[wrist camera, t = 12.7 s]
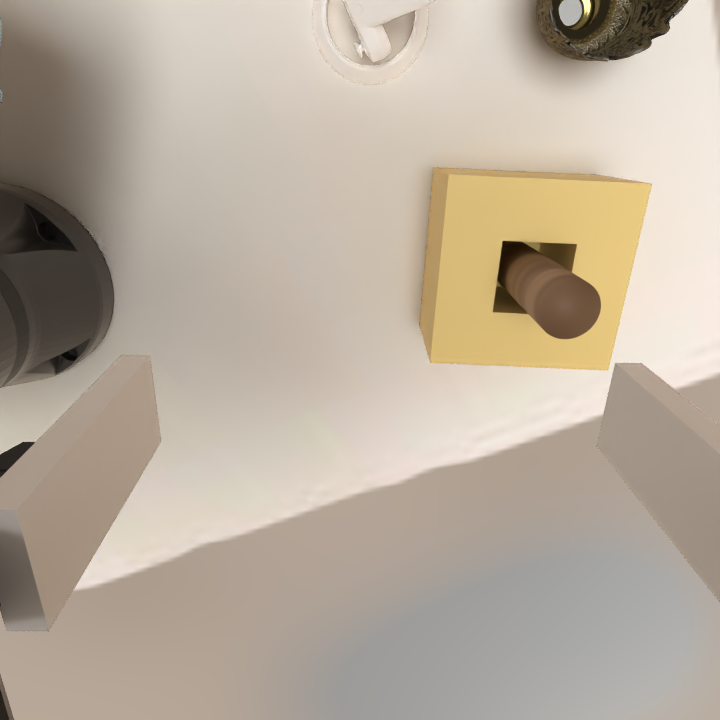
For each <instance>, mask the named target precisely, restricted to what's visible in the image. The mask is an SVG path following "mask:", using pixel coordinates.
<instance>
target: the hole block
mask: <svg viewBox="0 0 720 720" xmlns="http://www.w3.org/2000/svg"><path fill="white" fill-rule="evenodd" d="M651 186H652V184H650V183H644V182H638V181H632V180H626V179H619V178H613V177H607V176H601V175H585V174H563V173H541V172H519V171H498V170H476V169H454V168H433V179H432V190H431V201H430V212H429V224H428V235H427V246H426V258H425V269H424V280H423V291H422V303H421V314H420V328H421V332H422V335H423V339H424V342H425V346H426V350H427V353H428V357H429V360H430V363H450V364H472V365H495V366H518V367H540V368H563V369H586V370H608V369H609V365H610V360H611V356H612V352H613V348H614V343H615V339H616V335H617V331H618V326H619V322H620V318H621V314H622V309H623V305H624V301H625V297H626V292H627V288H628V284H629V280H630V275H631V271H632V267H633V263H634V258H635V254H636V250H637V246H638V241H639V237H640V233H641V229H642V224H643V220H644V216H645V212H646V207H647V203H648V199H649V195H650V190H651ZM503 241H521V242H524V243H526V244H527V245H529V246H530V247H532V248H534V249H535V250H537V251H538V252H540V253H542V254H543V255H545V256H546V257H548V258H550V259H551V260H553V261H554V262H556V263H558V264H559V265H561V266H562V267H564V268H566V269H567V270H569V271H570V272H572V273H574V274H575V275H577V276H578V277H580V278H582V279H583V280H585V281H586V282H588V283H590V284H591V285H592V286H593V287H594V288H595V289H596V290H597V292H598V294H599V296H600V300H601V311H600V314H599V317H598V319H597V321H596V323H595V324H594V325H593V327H592V328H591V329H590V330H588V331H587V332H586V333H584V334H583V335H581V336H579V337H576V338H572V339H558V338H555V337H552V336H550V335H549V334H547V333H546V332H545V331H544V330H543V329H542V328H541V327H540V326H539V325H538V324H537V323H536V322H535V320H534V319H533V318H532V317H531V316H530V315H529V314H528V313H527V312H526V311H525V310H524V309H523V308H522V307H521V306H520V305H519V304H518V303H517V301H516V300H515V299H514V298H513V297H512V296H511V295H510V294H509V293H508V292H507V291H506V290H505V289H504V288H503V287H502V286H501V285H500V283H499V282H498V281H497V277H498V270H499V263H500V256H501V249H502V242H503Z"/></svg>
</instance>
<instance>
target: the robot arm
mask: <svg viewBox="0 0 720 720" xmlns="http://www.w3.org/2000/svg"><path fill="white" fill-rule="evenodd" d="M0 46H1V19H0ZM2 98H3V94H2V90H1V89H0V102H1V103H2ZM112 310H113V288H112V282H111V278H110V274H109V270H108V267H107V265H106V262H105V260H104V258H103V256H102V253H101V252H100V250H99V248H98V246H97V245H96V243H95V242H94V240H93V239H92V237H91V236H90V235H89V233H88V232H87V231H86V230H85V228H84V227H83V226H82V225H81V224H80V223H79V222H78V221H77V220H76V219H75V218H74V217H73V216H72V215H71V214H70V213H68V212H67V211H66V210H65V209H63V208H62V207H61V206H59V205H58V204H56V203H55V202H53V201H52V200H50V199H48V198H46V197H44V196H42V195H40V194H38V193H36V192H34V191H31V190H28V189H25V188H22V187H18V186H14V185H9V184H2V183H0V388H1V387H5V386H10V385H16V384H21V383H26V382H32V381H37V380H42V379H46V378H50V377H53V376H55V375H58V374H60V373H62V372H64V371H66V370H68V369H70V368H71V367H73V366H74V365H76V364H77V363H78V362H80V361H81V360H82V359H84V358H85V357H86V356H87V355H89V354H90V353H91V352H92V351H93V350H94V349H95V348H96V347H97V346H98V344H99V343H100V342H101V340H102V339H103V337H104V335H105V333H106V331H107V329H108V327H109V324H110V320H111V316H112ZM160 443H161V436H160V428H159V421H158V413H157V406H156V398H155V391H154V383H153V376H152V369H151V361H150V356H141V355H121V356H120V358H119V359H118V360H117V361H116V362H115V363H114V364H113V365H112V366H111V367H110V368H109V369H108V370H107V371H106V372H105V373H104V374H103V375H102V376H101V377H100V378H99V379H98V380H97V381H96V382H95V383H94V384H93V385H92V386H91V387H90V388H89V389H88V390H87V391H86V392H85V393H84V394H83V395H82V396H81V397H80V398H79V399H78V400H77V401H76V402H75V403H74V404H73V405H72V406H71V407H70V408H69V409H68V410H67V411H66V412H65V413H64V414H63V415H62V416H61V417H60V418H59V419H58V420H57V421H56V422H55V423H54V424H53V425H52V426H51V427H50V428H49V429H48V430H47V431H46V432H45V433H44V434H43V435H42V436H41V437H40V438H39V439H38V440H37V441H36V442H22V443H21V444H19V445H17V446H15V447H13V448H11V449H10V450H8V451H6V452H4V453H2V454H1V455H0V611H1V614H2V618H3V621H4V624H5V627H6V630H7V631H49V630H50V628H51V627H52V625H53V624H54V622H55V620H56V618H57V617H58V615H59V613H60V612H61V610H62V608H63V607H64V605H65V603H66V601H67V600H68V598H69V597H70V595H71V593H72V591H73V590H74V588H75V586H76V585H77V583H78V581H79V580H80V578H81V576H82V575H83V573H84V571H85V569H86V568H87V566H88V564H89V563H90V561H91V559H92V558H93V556H94V554H95V553H96V551H97V549H98V547H99V546H100V544H101V542H102V541H103V539H104V537H105V536H106V534H107V532H108V531H109V529H110V527H111V525H112V524H113V522H114V520H115V519H116V517H117V515H118V514H119V512H120V510H121V509H122V507H123V505H124V504H125V502H126V500H127V498H128V497H129V495H130V493H131V492H132V490H133V488H134V487H135V485H136V483H137V482H138V480H139V478H140V476H141V475H142V473H143V471H144V470H145V468H146V466H147V465H148V463H149V461H150V460H151V458H152V456H153V454H154V453H155V451H156V449H157V448H158V446H159V444H160ZM596 446H597V447H598V449H599V450H600V451H601V453H602V454H603V455H604V456H605V458H606V459H607V460H608V461H609V463H610V464H611V465H612V466H613V468H614V469H615V470H616V472H617V473H618V474H619V475H620V477H621V478H622V479H623V480H624V481H625V483H626V484H627V485H628V487H629V488H630V489H631V490H632V492H633V493H634V494H635V496H636V497H637V498H638V499H639V501H640V502H641V503H642V504H643V506H644V507H645V508H646V509H647V511H648V512H649V513H650V514H651V516H652V517H653V518H654V520H655V521H656V522H657V523H658V525H659V526H660V527H661V528H662V530H663V531H664V532H665V534H666V535H667V536H668V537H669V538H670V540H671V541H672V542H673V544H674V545H675V546H676V547H677V549H678V550H679V551H680V552H681V554H682V555H683V556H684V558H685V559H686V560H687V561H688V563H689V564H690V565H691V566H692V568H693V569H694V570H695V571H696V573H697V574H698V575H699V576H700V578H701V579H702V580H703V582H704V583H705V584H706V585H707V587H708V588H709V589H710V590H711V592H712V593H713V594H714V596H715V597H716V598H717V599H718V601H719V602H720V425H719V424H718V423H716V422H715V421H714V420H713V419H711V418H710V417H709V416H707V415H706V414H705V413H703V412H702V411H701V410H700V409H699V408H697V407H696V406H695V405H693V404H692V403H691V402H690V401H689V400H687V399H686V398H685V397H683V396H682V395H681V394H680V393H678V392H677V391H676V390H675V389H673V388H672V387H671V386H670V385H668V384H667V383H666V382H665V381H663V380H662V379H661V378H660V377H658V376H657V375H656V374H654V373H653V372H652V371H651V370H649V369H648V368H647V367H646V366H644V365H643V364H642V363H615V366H614V371H613V375H612V379H611V384H610V388H609V392H608V397H607V401H606V406H605V410H604V414H603V419H602V423H601V428H600V432H599V436H598V440H597V445H596ZM0 720H14V718H13V715H12V711H11V708H10V705H9V701H8V698H7V695H6V692H5V688H4V685H3V682H2V678H1V675H0Z"/></svg>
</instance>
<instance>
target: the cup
mask: <svg viewBox="0 0 720 720" xmlns="http://www.w3.org/2000/svg"><path fill="white" fill-rule="evenodd" d="M562 1H563V0H537V1H536V15H537V21H538V25H539V28H540V31H541V33H542V35H543V37H544V39H545V40H546V42H547V43H548V44H549V45H550V46H551V47H552V48H553V49H554V50H555V51H557V52H558V53H560V54H561V55H563V56H566V57H568V58H572V59H576V60H584V61H608V60H618V59H623V58H627V57H630V56H632V55H635V54H637V53H640V52H642V51H644V50H646V49H648V48H649V47H650V46H651V44H652V41H651V40H652V39H654V38H656V37H658V36H661V35H664V34H666V33H667V32H668V31H669V29H670V26H669V21H670V20H671V19H672V18H673V17H674V16H675V15H677V14H678V13H679V12H680V11H681V10H682V9H683V7H684V6H685V5H686V3H687V2H688V0H580V1H581V3H582V6H583V13H582V16H581V18H580V20H579V21H578V22H577V23H576V24H574V25H571V26H565V25H564V24H563V23H562V21H561V19H560V16H559V10H558V9H559V5H560V4H561V2H562Z"/></svg>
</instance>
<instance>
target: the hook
mask: <svg viewBox="0 0 720 720" xmlns="http://www.w3.org/2000/svg"><path fill="white" fill-rule="evenodd" d="M434 1H435V0H343V3H344V5H345V8H346V10H347V13H348V15H349V17H350V19H351V21H352V23H353V25H354V27H355V29H356V30H357V32H358V34H359V40H360V42H361V44H359V45H358V44H357V43H356V42H355V43H354V46H355V49H356V51H357V53H358V55H359V57H360V58H361V57H362V52H363V51H365V53H366V55H367V57H369V58H370V59H371V61H372V62H377V61H380V60H383V59H384V58H385V57H387V56H388V54H389V53H390V52H391V45H390V42H389V39H388V36H387V34H386V32H385V29H384V27H383V25H382V23H387V22H389V21H390V20H392V19H395V18H397V17H400V16H402V15H405V14H407V13H409V12H412V11H414V10H415V19H414V25H413V30H412V33H411V35H410V38H409V40H408V42H407V43H406V45H405V47H404V48H403V49H402V50H401V51H400V53H399V54H398V55H396V56H395V57H394V58H392V59H391V60H389V61H387V62H385V63H383V64H378V65H362V64H358V63H356V62H353V61H351V60H349V59H348V58H347V57H345V56H344V55H343V54H342V53H341V52H340V51H339V50H338V48H337V47H336V45H335V44H334V42H333V40H332V38H331V36H330V33H329V30H328V25H327V12H326V11H327V4H328V0H314V7H313V30H314V35H315V40H316V42H317V45H318V47H319V50H320V52H321V54H322V55H323V57H324V59H325V60H326V62H327V63H328V64H329V65H330V66H331V68H332V69H333V70H334V71H335V72H337V73H338V74H339V75H341V76H342V77H344V78H346V79H348V80H350V81H352V82H355V83H359V84H364V85H376V84H381V83H385V82H388V81H390V80H392V79H394V78H397V77H398V76H399V75H401V74H402V73H403V72H405V71H406V70H407V69H408V68H409V67H410V66H411V64H412V63H413V62H414V61H415V59H416V58H417V56H418V54H419V53H420V51H421V49H422V46H423V44H424V41H425V38H426V34H427V29H428V6H427V5H428V4H431V3H433V2H434Z"/></svg>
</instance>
